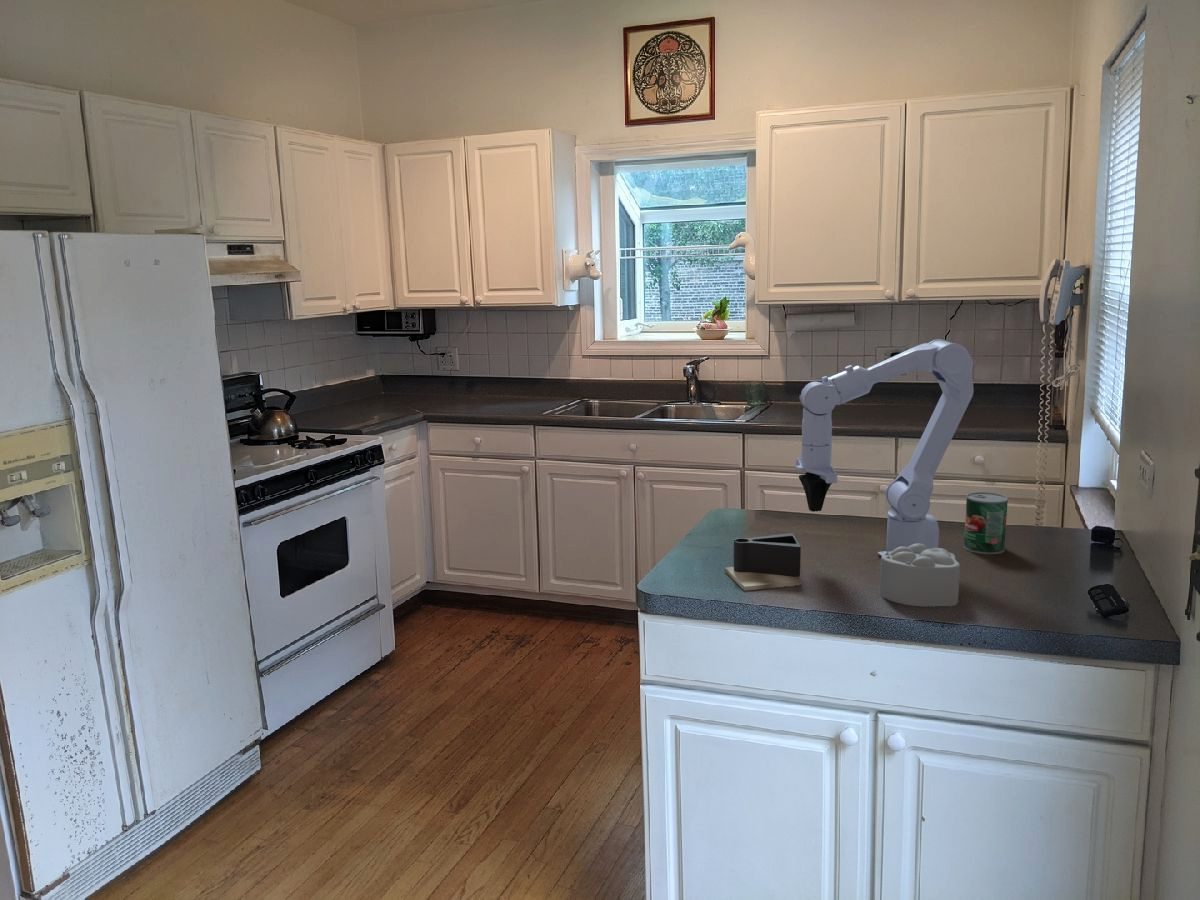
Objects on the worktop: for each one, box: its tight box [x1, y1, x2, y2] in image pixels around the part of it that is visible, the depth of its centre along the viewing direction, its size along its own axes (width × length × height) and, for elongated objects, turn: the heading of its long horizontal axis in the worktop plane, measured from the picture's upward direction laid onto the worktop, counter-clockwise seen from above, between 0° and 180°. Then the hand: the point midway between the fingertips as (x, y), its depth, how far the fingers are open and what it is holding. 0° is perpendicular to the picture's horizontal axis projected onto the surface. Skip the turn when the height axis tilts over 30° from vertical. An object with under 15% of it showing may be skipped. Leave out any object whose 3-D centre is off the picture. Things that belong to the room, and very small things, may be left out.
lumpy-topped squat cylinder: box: [879, 543, 961, 608], centre depth 167 cm, size 10×13×9 cm
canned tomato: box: [963, 491, 1009, 555], centre depth 192 cm, size 8×8×11 cm
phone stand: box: [733, 532, 802, 578], centre depth 180 cm, size 9×6×12 cm
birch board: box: [724, 566, 801, 592], centre depth 179 cm, size 11×11×1 cm
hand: (815, 510), depth 186 cm, fingers closed
